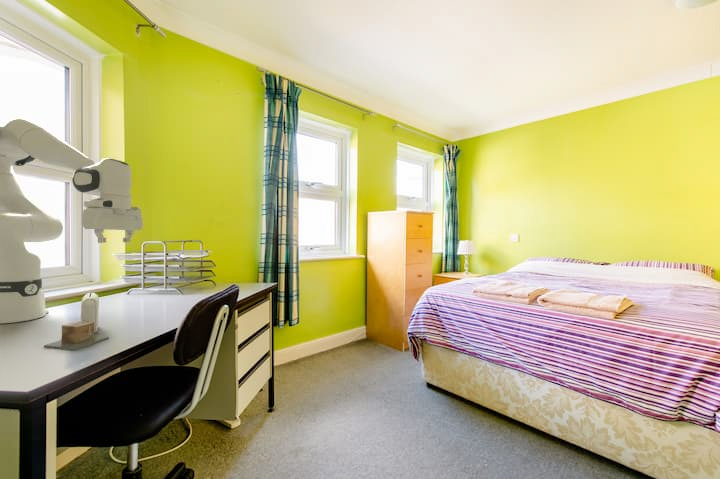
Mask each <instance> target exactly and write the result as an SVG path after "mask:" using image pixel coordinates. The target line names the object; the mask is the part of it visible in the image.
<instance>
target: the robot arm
mask: <svg viewBox="0 0 720 479" xmlns="http://www.w3.org/2000/svg"><path fill="white" fill-rule="evenodd" d="M34 160H37V161H40V162H42V163H45V164H48V165H53V166H56V167H61V168H66V169H69V170H73V171H74V172H73V174H72V179H71V180H72V184H73V187H74V188H75V190H76V191H78V192H80V193H82V194H86V195H91V196H92V195H93V196H98V197H97V198H93V199H87V200H84V201H83V206H84V207H85V208H84V209H83V211H82V217H81V225H82V227H83V228H84V230H94V231H93V232H94V235H95V236H96V237H97V243H98V244H105V243H107V237H105V236H104V235H103V233H104V231H106V230H108V231H109V230H111V231H112V230H113V231H125V237H122V242H123V243H131V238H132V237H133V235H134V233H135V231H136V232H137V231H142V230H143V228H144V227H143V226H144V224H143V215H142V211H141V209H140V208H139V207H138V206H132V194H131V189H132V187H133V186H132V183H133V182H132V181H133V177H132V169H131V167H130V165H129V164H128V163H127V162H125V161H121V160H117V159H115V158H109V157H107V158H102V159H101V160H100V162H96V161H95V160H93V159H92V158H90V157H88V156H87V155H85V154H84V153H82V152H80V151H79V150H77V149H76V148H75V147H73V146H71V145H70V144H68V143H67V142H66V141H64V140H63V139H61V137H59V136H57V135H56V134H55V133H53V132H52V131H51V130H49V129H48V128H46V127H44V126H43V125H40V124H39V123H37V122H35V121H32V120H30V119H28V118H24V117H17V118H12V119H10V120H9V121H7V122H6V124H4V125H0V325H1V324H10V323H18V322H24V321H25V322H26V321H31V320H35V319H40V318H42V317H45V316H46V315H47V314H49V309H46V299H45V293H44V292H43V291H42V290H41V289H42V288H43V280H42V278H41V259H40V257H39V256H38V255H36V254H34V253H32V252H29V251H28V249H27V248H26V245H25V243H44V242H48V241H49V242H50V241H54V240H56V239H59V237H60V236H62V233H63V229H64V228H63V227H64V226H63V223H62V222H61V220H60V219H59V218H58V217H56V216H53V215H52V214H49V213H48V212H46V211H44V210H43V209H42V208H40V207H39V205H37V204H36V203H35V202H33V200H32V199H31V198H30V197H29V196H28V194H27V193H26V191H25V190H24V188H23V187H22V186H23V185H22V184H21V183H20V180H19V179H18V177H17V175H16V173H15V171H14V169H13V166H15V167H16V166H18V167H21V166H24V165H26V164H28V163H31V162H33V161H34Z"/></svg>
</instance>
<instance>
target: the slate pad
mask: <svg viewBox="0 0 720 479" xmlns="http://www.w3.org/2000/svg"><path fill="white" fill-rule="evenodd" d="M109 338H110V336H106V335H95V334H94V339H91V340H88V341H85V342H82V343H79V344H68V343H61V341H62V339H60V340H57V341H54V342H51V343H47V344H44V345H43V348H45V349H46V348H48V349H56V350H57V349H58V350H68V351H76V350H79V349H83V348H85V347H87V346H91V345H94V344H97V343H99V342H102V341H105V340H109Z"/></svg>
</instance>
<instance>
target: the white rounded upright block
mask: <svg viewBox="0 0 720 479" xmlns="http://www.w3.org/2000/svg"><path fill="white" fill-rule="evenodd" d="M99 300H100V298H99V295H98V294H96V293H95V292H90V293H89V292H88V293H86V294H84V296H83V297H82V298H81V303H80V308H81V309H80V321H87V322H94V334H95V333H97V332H98V329H99V312H100V311H99V308H100V307H99V304H100V301H99Z"/></svg>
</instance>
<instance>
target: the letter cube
mask: <svg viewBox="0 0 720 479" xmlns="http://www.w3.org/2000/svg"><path fill="white" fill-rule="evenodd" d="M94 335H95V333H94V322H87V321H81V320H79V321H75V322H71V323H66V324H63V325H61V340H62V341H61V343H68V344H79V343H82V342H85V341H88V340H91V339H94Z"/></svg>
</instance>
